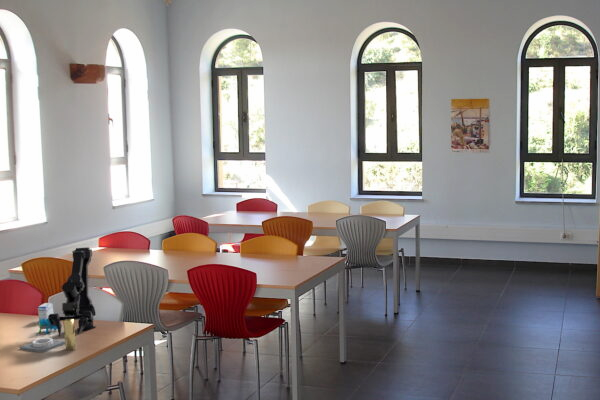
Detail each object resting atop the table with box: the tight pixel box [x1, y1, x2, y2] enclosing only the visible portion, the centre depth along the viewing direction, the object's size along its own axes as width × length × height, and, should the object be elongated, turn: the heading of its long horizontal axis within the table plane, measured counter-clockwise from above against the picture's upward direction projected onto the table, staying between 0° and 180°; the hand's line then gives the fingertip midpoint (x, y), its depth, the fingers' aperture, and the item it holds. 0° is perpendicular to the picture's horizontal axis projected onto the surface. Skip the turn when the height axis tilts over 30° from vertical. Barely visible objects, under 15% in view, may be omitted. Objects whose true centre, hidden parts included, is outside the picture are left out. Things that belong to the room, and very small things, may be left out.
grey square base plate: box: [19, 337, 65, 353], centre depth 347 cm, size 14×14×3 cm
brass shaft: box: [63, 319, 77, 351], centre depth 341 cm, size 4×4×13 cm
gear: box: [38, 318, 58, 335], centre depth 371 cm, size 11×6×10 cm
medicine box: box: [37, 302, 55, 322], centre depth 392 cm, size 8×4×9 cm, turn 172°
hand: (69, 334), depth 339 cm, fingers open, 8 cm apart
